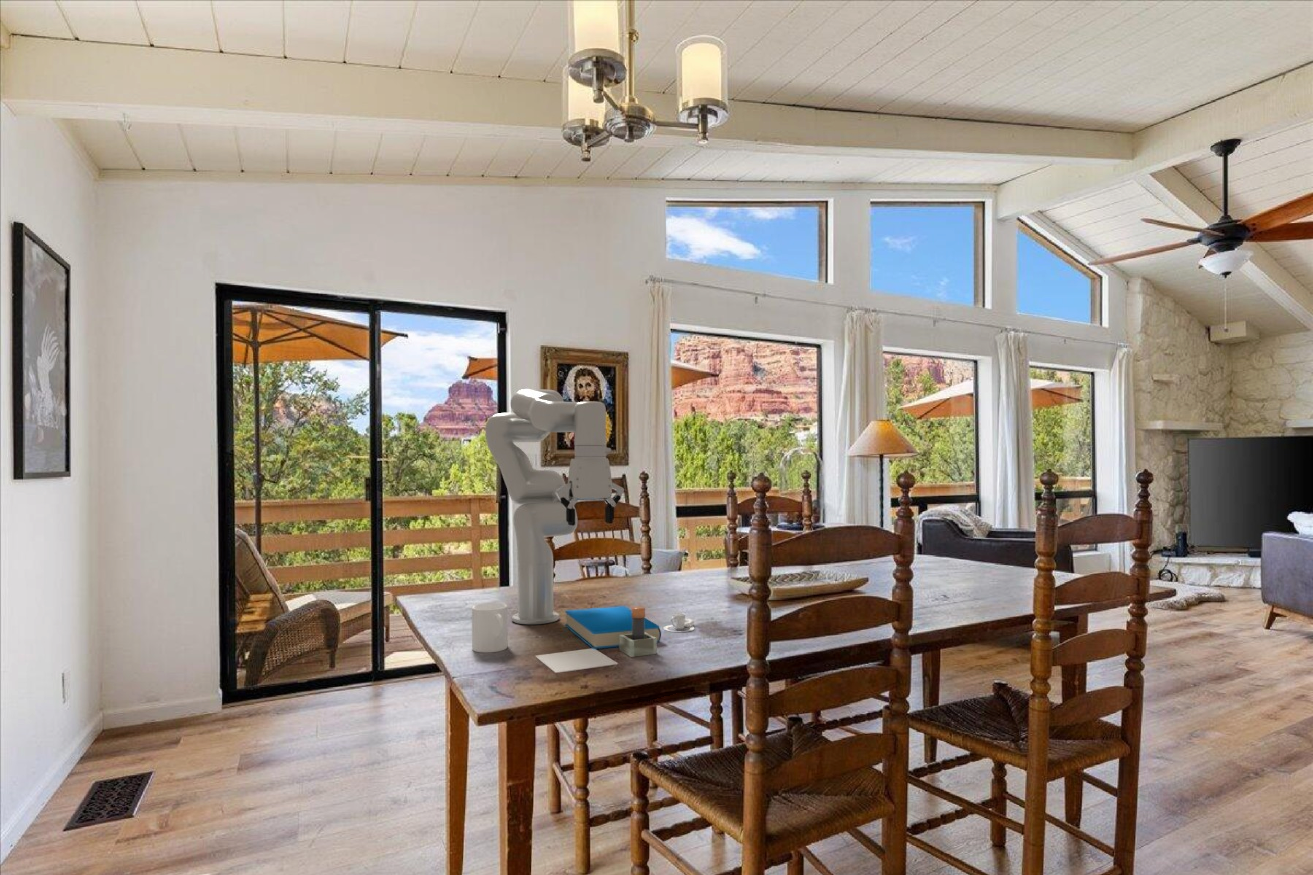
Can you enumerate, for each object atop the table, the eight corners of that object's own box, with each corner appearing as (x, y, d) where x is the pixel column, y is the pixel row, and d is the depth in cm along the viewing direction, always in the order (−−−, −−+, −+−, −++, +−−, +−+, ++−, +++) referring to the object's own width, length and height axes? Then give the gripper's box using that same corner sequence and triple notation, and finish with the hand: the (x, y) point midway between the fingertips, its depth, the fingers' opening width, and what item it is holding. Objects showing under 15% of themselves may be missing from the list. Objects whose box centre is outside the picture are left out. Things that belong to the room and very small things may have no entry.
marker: (629, 651, 177) (629, 607, 177) (641, 649, 178) (641, 606, 178) (635, 654, 174) (634, 609, 174) (647, 652, 175) (647, 608, 175)
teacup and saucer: (688, 624, 204) (688, 609, 204) (702, 631, 196) (702, 615, 197) (658, 628, 200) (658, 612, 200) (671, 635, 193) (671, 618, 193)
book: (593, 632, 178) (564, 609, 201) (593, 650, 178) (564, 625, 201) (662, 625, 184) (626, 604, 208) (662, 643, 184) (625, 620, 208)
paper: (535, 656, 173) (535, 655, 173) (593, 648, 179) (593, 648, 179) (555, 673, 160) (555, 672, 160) (617, 664, 166) (617, 663, 166)
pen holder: (619, 650, 178) (619, 634, 178) (644, 646, 180) (644, 631, 180) (630, 657, 172) (630, 641, 172) (656, 653, 175) (656, 637, 175)
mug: (485, 658, 171) (485, 614, 171) (467, 646, 181) (467, 604, 182) (519, 653, 176) (519, 609, 176) (500, 641, 186) (499, 600, 186)
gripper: (617, 452, 193) (617, 520, 193) (550, 453, 186) (551, 524, 186) (629, 452, 187) (629, 523, 187) (561, 453, 179) (561, 527, 179)
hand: (590, 523), depth 186 cm, fingers open, 9 cm apart
